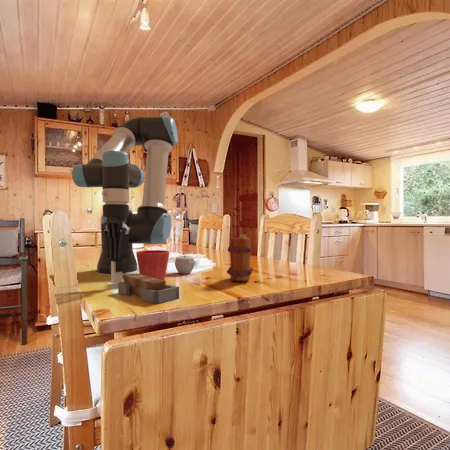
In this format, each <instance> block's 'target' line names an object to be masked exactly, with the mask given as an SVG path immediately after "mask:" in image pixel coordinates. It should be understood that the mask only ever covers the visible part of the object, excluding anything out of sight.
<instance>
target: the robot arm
mask: <svg viewBox="0 0 450 450" xmlns="http://www.w3.org/2000/svg"><path fill="white" fill-rule="evenodd" d="M176 124H177V123H176V122H175V119H174V118H173V117H172V116H169V115H166V116H165V115H161V116H137V117H132V118H130V119H128V120H126V121H124V122H123V123H120V124H119V125H118V126H117V127H116V128H115V129H114V130H113V131H112V134H111V137H110V139H108V140H107V142H105V144H104V145H102V147H101V148H100V149H99V150H98V151H97V152H96V153H95V154H94V155H93V157H92V158H90V159H89V161H88V162H87V163H85V164H84V163H81V164H76V165H74V166H73V168H72V171H71V179H72V181H73V183H74V185H75V186H77V187H79V188H87V189H88V188H102V192H101V195H102V202H103V203H104V204H103V205H102V215H101V218H100V219H101V220H100V229H101V230H100V236H101V237H100V238H101V239H100V240H101V251H100V256H99V258H98V261H97V265H96V272H98V273H104V274H110V276H111V277H110V282H111V284H118V283H120V282H123V274H124V273H129V272H133V271H137V270H138V261H137V258H136V256H135V253H134V250H133V247H134V246H133V244H138V245H139V244H141V245H142V244H144V245H145V244H147V245H148V244H149V245H156V244H157V245H159V244H164V243H166V242H167V241H168V240H169V238H170V234H171V231H172V220H173V219H172V216H171V214H169V213H168V212H169V211H168V209H167V208H166V206H165V199H166V187H167V175H168V163H169V154H170V153H171V152H172V151H173V149H174V146H176V145H178V144H179V143H178V142H179V136H178V135H179V134H178V130H177V125H176ZM136 146H137V147H138V146H144V148H145V150H146V151H147V153H146V160H145V161H146V163H145V169H144V170H145V173H144V170H143V169H142V168H140V167H139V166H138V165H136V164H132V163H130V160H129V159H130V158H129V153H127V151H128V150H132V149H133V148H135V147H136ZM142 184H143V189H142V190H143V191H142V202H141V204H140V205H139V206H137V209H136V210H137V212H136V213H133V211H132V210H131V209H130V205H129V203H130V188H132V189H133V188H138V187H140V186H142Z"/></svg>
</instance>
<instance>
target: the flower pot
mask: <svg viewBox="0 0 450 450" xmlns="http://www.w3.org/2000/svg"><path fill="white" fill-rule="evenodd" d="M135 253H136V262H137V268H138V272H139V273H138V274H141V275H145V276H149V277H153V278H157V279H161V280H164V281H166V280H165V279H166V274H167V270H168V264H169V263H168V262H169V258H170V257H169V256H170V251H169V250H163V249H160V250H159V249H153V250H152V249H151V250H150V249H149V250H147V249H146V250H138V251H136V252H135Z"/></svg>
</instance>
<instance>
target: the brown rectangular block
mask: <svg viewBox="0 0 450 450" xmlns="http://www.w3.org/2000/svg"><path fill="white" fill-rule="evenodd" d="M123 283H127V284H129V291H130V295H132V296H134V295H135V296H134V297H137V296H138V297H137V298H140V297H141V289H142V288H147V289H151V290H155V291H158V290H163V289H165V284H166V280H161V279H157V278H153V277H149V276H145V275H141V274H140V273H129V274H124V275H123Z"/></svg>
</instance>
